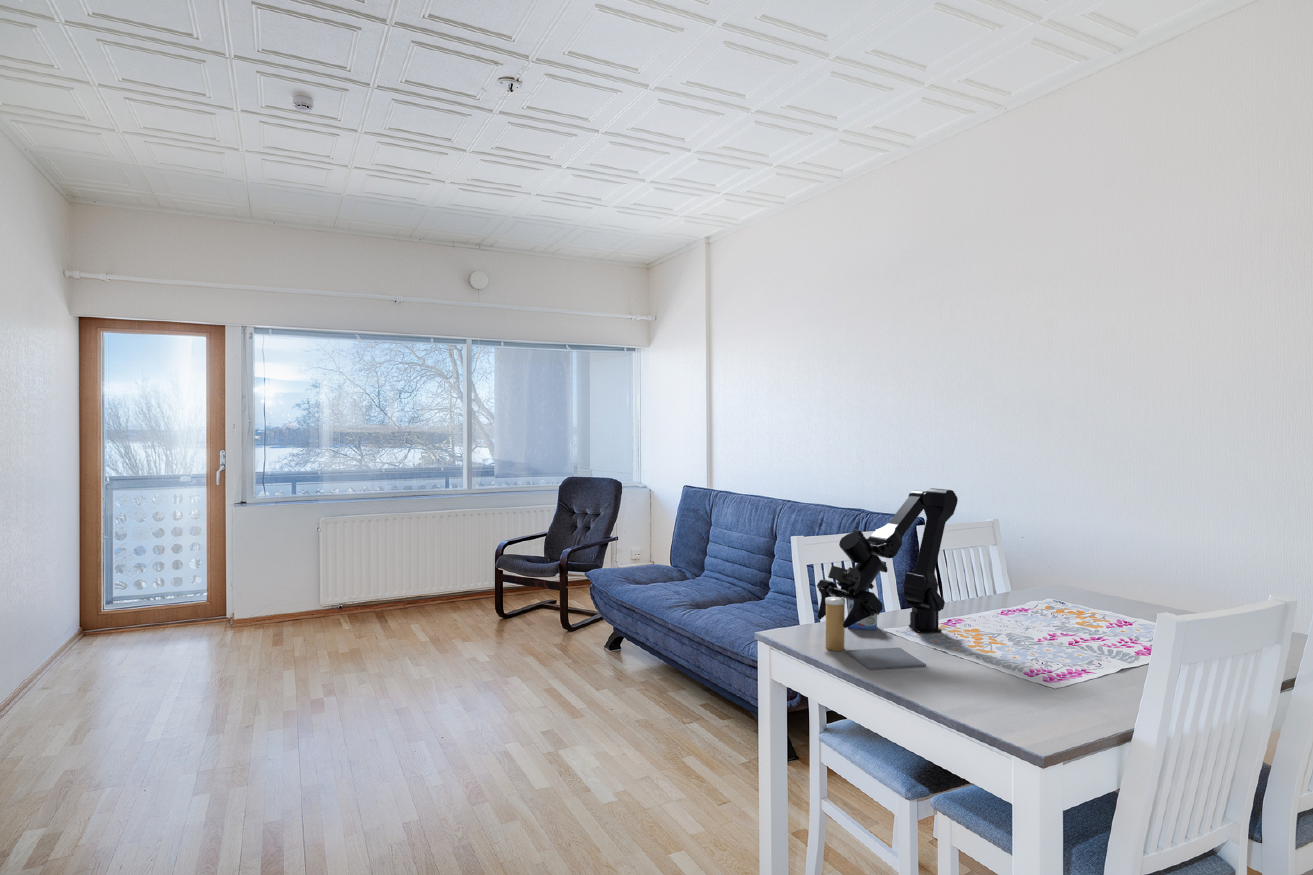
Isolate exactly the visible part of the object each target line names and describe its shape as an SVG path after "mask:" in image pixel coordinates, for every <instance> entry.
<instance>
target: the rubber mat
mask: <svg viewBox="0 0 1313 875" xmlns="http://www.w3.org/2000/svg"><path fill="white" fill-rule="evenodd" d="M845 650H846V649H845ZM845 652H846V654H848V655H849V656H851V657H852V658H853V659H855V660H856V661H857V662H858V663H860V664H862V665H863V666H864V667H865V668H866V669H868V670H870V671H872V670H873V671H874V670H888V669H887V668H892V669H903V668H904V669H906V668H909V669H910V668H923V667H927V663H924V661H922V660H920V659H919V658H917V657H916V656H914V655H912V654H910V652H908V651H906V650H904V649H902V648H901V647H898V646H897V647H883V648H882V647H881V648H861V649H847V650H846V651H845Z"/></svg>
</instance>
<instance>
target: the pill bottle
mask: <svg viewBox="0 0 1313 875" xmlns="http://www.w3.org/2000/svg"><path fill="white" fill-rule="evenodd" d="M825 603H826V615H825V649H826V650H829V651H831V650H833V652H841V651H842V652H843V651H845V628H844V627H843V623H844V621H845V619H846V617H845V604H846V598H842V597H841V598H840V597H827V598H825Z"/></svg>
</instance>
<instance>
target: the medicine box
mask: <svg viewBox="0 0 1313 875" xmlns="http://www.w3.org/2000/svg"><path fill="white" fill-rule="evenodd" d="M853 605H854V601H853V600H849V599H847V615H848V614H849V613H850V611H851V610H852V608H853ZM847 629H848V630H849V629H850V630H851V629H852V630H864V631H865V630H867V631H877V629H878V615H877V614H874V616H869V617H867V618H865V619H862V620H860V621H858V622H856V623H855V624H853V625H851V626H849V627H847Z"/></svg>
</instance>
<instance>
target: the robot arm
mask: <svg viewBox="0 0 1313 875" xmlns="http://www.w3.org/2000/svg"><path fill="white" fill-rule="evenodd" d="M958 498H959V497H958V496H957V494H956V493H955V491H954V490H952V489H944V488H943V489H942V488H935V487H934V488H933V487H932V488H929V489H928V490H916V489H915V490H912V491H910V492H909V494H908V497H907V499H906V500H905V501H904V502H903V504H902V505H901V506H900V507H899V509H898V510H897V511H896V512H895V514H894V515H893V516H892V518H891V519H890V520H889V521H888V522H887V523H886V525H884V526H881V527H880V528H878V529H876V530H875V531H874V532H873V533H872V534H870V535H869V537H867V538H866V537H865V535H864V533H863V531H861V530H859V529H853V531H852V532H850V533H848V534H846V535H844V536H843V537H841V539H840V540H839V545H838V546H839V547H840V549H841V550H842V551H843V553H844V554H845V555H846V556H847V558H848V559H849V560H850V562H851V563H854V564H855V566H854V567H848V568H843V567H841V566H840V567H839V566H835V565H831V566H830V570H829V573H828V576H827V577H828V578H829V579H832V580H827V579H825V578H823V579H820V580H819V581H818V583H817V584H816V587H817V589H818V592H819V593H820V604H819V607H818V612H817V616H816V618H817V619H819V620H821V619H823V618H824V617H826V603H825V598H827V597H840V598H844V599H845V600H846V599H847V600H848V599H849V600H853V601H854V605H853V608H852V610H851V611H850V613H849V614H848V613H847V616H846V617H845V621H844V623H843V627H844V629H848V627H849V626H851V625H853V624H855V623H856V622H858V621H860V620H862V619H865V618H867V617H869V616H874V614H877V616H879V615H880V614H881V612H882V611H883V607H884V606H883V603H882V601H881V600H880V599H879V598H878V596H877V595H876V594H875V593H874V592H872V591H868V589H870V590H873V589H874V587H875V585H874V584H873V582H874V580H876V578H877V576H878V575H879V573H880V572H881V573H888V566H887V561H883V560H882V559H881V558H885V559H893V558H895V557H896V556H897V554H898V552H899V551H900V549H901V548H902V546H903V537H904V536H905V534H906V532H908V530H909V528H910V527H912V524H914V522H915V521H916V519H917V518H918V517H919V516H920V515H921V513H922V512H924V514H925V516H926V520H925V523H924V529H923V532H922V533H923V534H922V538H921V543H920V547H919V551H918V555H917V560H916V564H915V568H914V569H913V570H912V572H911V573H910V572H906V574H905V575H904V576H905V578H904V582H903V584H902V587H903V595H904V596H905V601H906V605H907V606H911V611H910V614H909V619H910V620H909V624H908V627H909V628H911V629H912V630H914V631H916V632H918V633H920V634H924V633H942V631H943V630H942V629H941V628H939V612H941V611H942V610H944V608H945V602H946V601H945V600H944V599H943V598H942V596H941V595H940V594H939V593H938V589H939V583H938V580H937V577H936V573H935V572H936V567H937V563H938V559H939V555H940V549H941V545H942V540H943V535H944V530H945V526H946V523H947V521H949V519H951V517H952V516H953V515H954V514H955V511H956V508H957V505H958ZM833 580H834V581H837V582H836V584H837V585H838V586H837V585H836V584H835V583H834V582H833ZM839 587H840V588H839Z"/></svg>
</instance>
